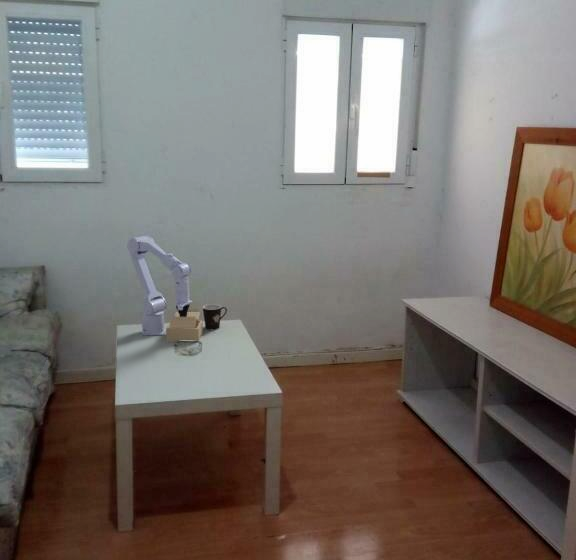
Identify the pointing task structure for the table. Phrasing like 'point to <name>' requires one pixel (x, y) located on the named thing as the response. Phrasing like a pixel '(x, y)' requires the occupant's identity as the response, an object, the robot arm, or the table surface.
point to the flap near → (182, 322)
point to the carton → (184, 333)
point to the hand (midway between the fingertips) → (183, 321)
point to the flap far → (190, 314)
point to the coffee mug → (212, 316)
